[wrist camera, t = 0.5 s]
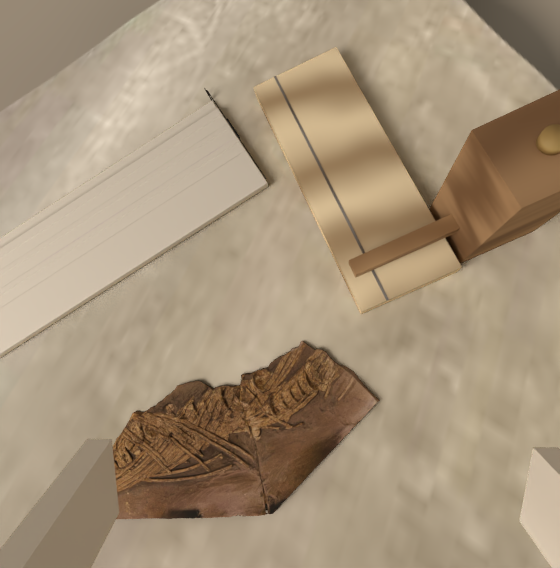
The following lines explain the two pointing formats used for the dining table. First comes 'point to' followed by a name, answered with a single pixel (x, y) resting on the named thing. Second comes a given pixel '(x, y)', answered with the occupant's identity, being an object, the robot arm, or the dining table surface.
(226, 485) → the wooden fragment
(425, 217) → the board
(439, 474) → the dining table surface
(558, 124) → the block
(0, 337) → the baseboard molding
